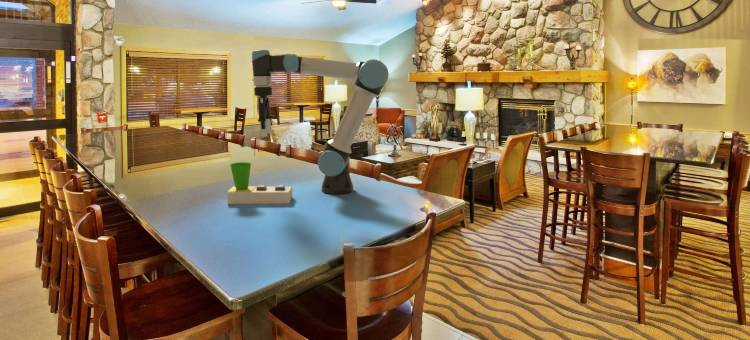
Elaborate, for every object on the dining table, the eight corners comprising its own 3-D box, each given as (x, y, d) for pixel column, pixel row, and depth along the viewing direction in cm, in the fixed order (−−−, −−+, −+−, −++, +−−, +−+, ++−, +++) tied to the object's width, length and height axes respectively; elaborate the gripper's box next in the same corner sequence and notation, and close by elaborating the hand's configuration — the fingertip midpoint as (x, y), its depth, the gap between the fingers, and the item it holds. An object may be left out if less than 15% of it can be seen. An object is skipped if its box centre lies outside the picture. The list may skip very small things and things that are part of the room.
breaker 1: (266, 198, 209) (266, 185, 208) (265, 201, 206) (264, 186, 205) (258, 198, 209) (258, 185, 208) (257, 201, 206) (256, 186, 204)
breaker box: (292, 197, 214) (292, 185, 213) (289, 203, 203) (288, 191, 202) (233, 197, 212) (233, 186, 211) (227, 203, 201) (227, 191, 200)
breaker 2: (285, 198, 210) (284, 184, 209) (284, 200, 206) (283, 186, 205) (276, 198, 210) (276, 185, 208) (275, 200, 206) (275, 186, 205)
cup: (246, 191, 201) (245, 166, 199) (227, 190, 203) (225, 165, 200) (256, 187, 210) (255, 162, 207) (237, 186, 211) (235, 161, 209)
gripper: (258, 86, 218) (261, 132, 222) (249, 87, 194) (253, 138, 198) (274, 85, 219) (277, 131, 223) (267, 86, 195) (271, 137, 199)
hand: (266, 135), depth 210 cm, fingers open, 13 cm apart
